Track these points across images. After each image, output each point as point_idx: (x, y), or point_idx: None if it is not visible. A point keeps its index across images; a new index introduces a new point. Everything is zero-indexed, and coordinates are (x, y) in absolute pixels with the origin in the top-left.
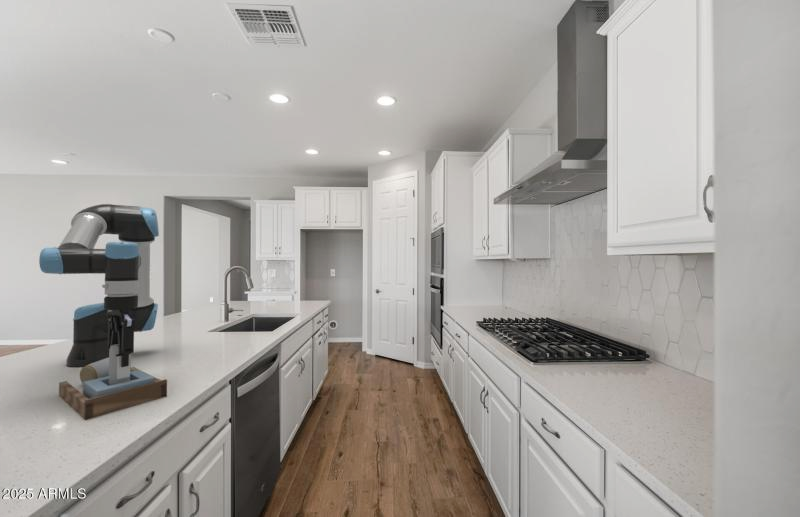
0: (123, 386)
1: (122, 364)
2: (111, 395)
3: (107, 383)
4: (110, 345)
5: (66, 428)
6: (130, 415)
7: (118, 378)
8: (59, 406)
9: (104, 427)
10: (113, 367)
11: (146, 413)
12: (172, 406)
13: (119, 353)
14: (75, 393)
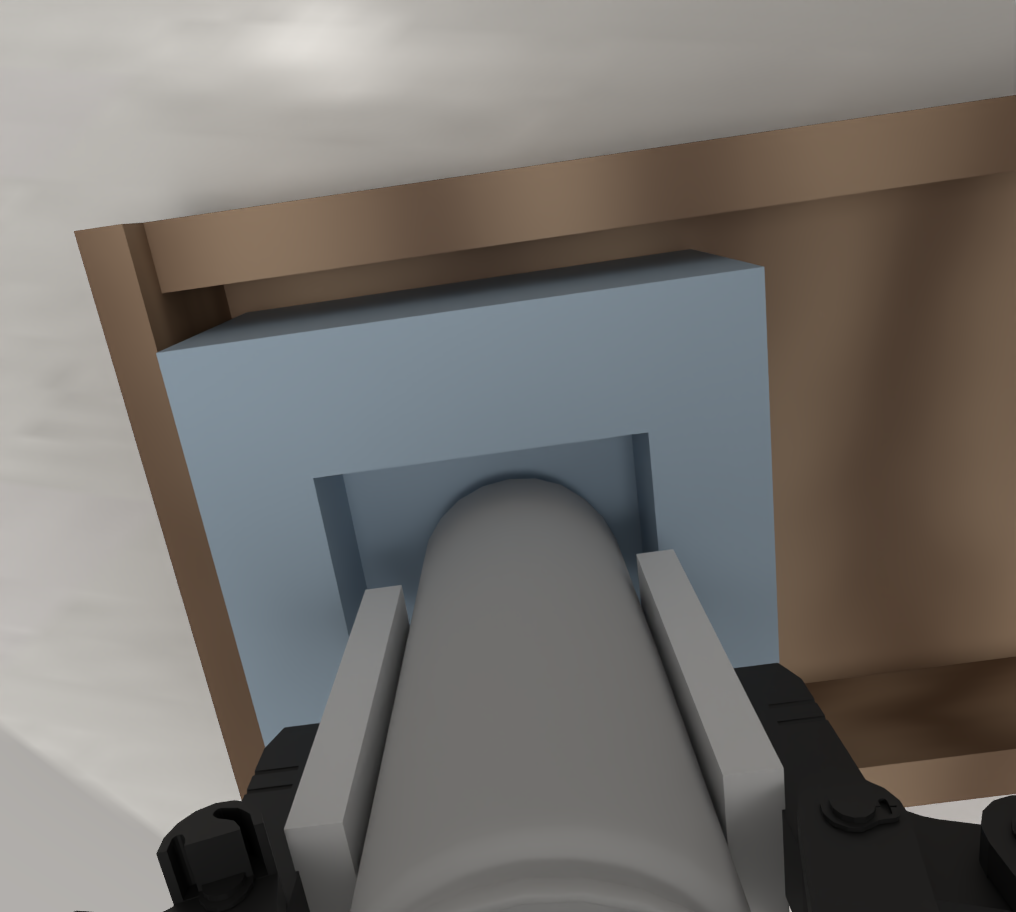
0: (228, 593)
1: (262, 760)
2: (147, 461)
3: (641, 484)
4: (919, 895)
5: (200, 93)
6: (157, 516)
7: (369, 600)
8: (899, 77)
9: (12, 335)
10: (427, 636)
11: (118, 608)
12: (143, 765)
13: (203, 895)
14: (634, 177)
